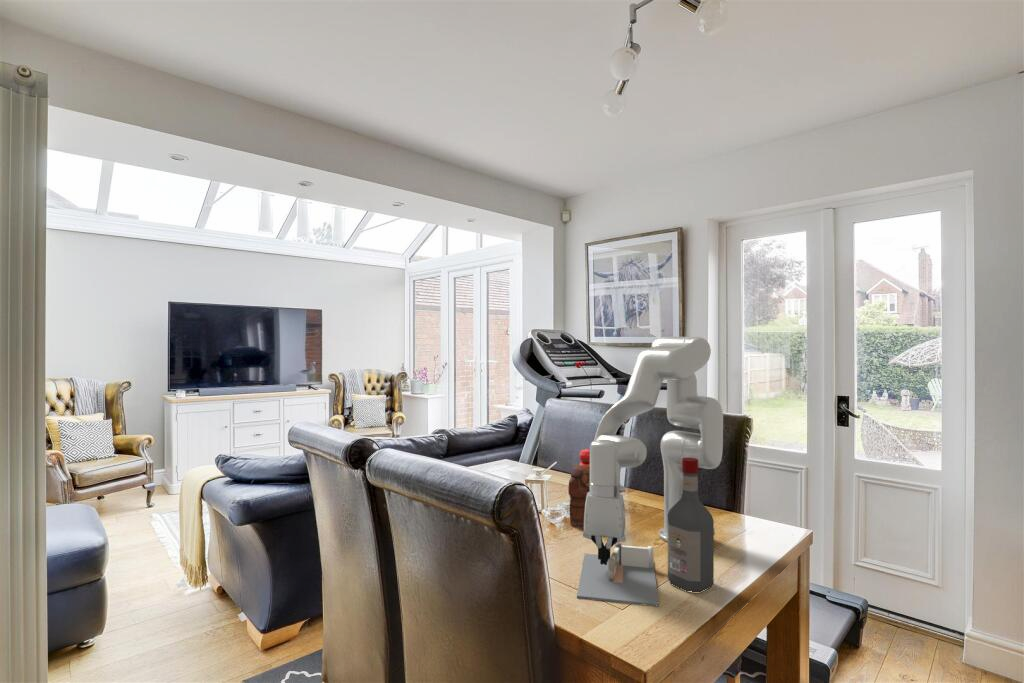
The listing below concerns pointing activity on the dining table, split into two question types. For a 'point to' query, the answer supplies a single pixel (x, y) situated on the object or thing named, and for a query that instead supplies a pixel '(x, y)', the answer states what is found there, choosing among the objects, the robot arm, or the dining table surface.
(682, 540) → the liquor
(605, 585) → the board
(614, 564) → the hinged panel
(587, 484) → the wooden figurine
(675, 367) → the robot arm
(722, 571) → the dining table surface
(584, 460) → the stacking toy
